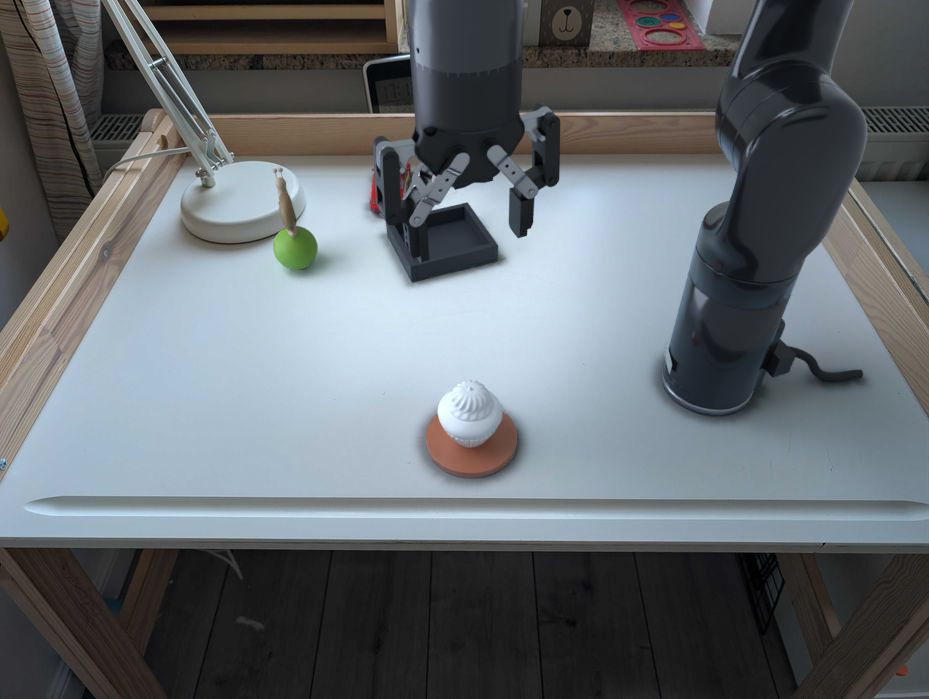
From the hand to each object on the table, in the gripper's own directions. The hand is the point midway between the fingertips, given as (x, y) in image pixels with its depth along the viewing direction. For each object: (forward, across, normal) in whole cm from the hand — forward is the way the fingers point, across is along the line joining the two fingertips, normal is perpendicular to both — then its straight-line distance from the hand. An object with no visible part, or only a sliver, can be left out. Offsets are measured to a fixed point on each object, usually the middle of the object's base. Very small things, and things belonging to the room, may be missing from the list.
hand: (470, 244), depth 59 cm
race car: (+21, +5, +43) cm, 48 cm away
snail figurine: (+21, -11, +32) cm, 40 cm away
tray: (+21, +7, +28) cm, 36 cm away
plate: (+21, -2, -3) cm, 21 cm away
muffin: (+21, -2, -3) cm, 21 cm away
